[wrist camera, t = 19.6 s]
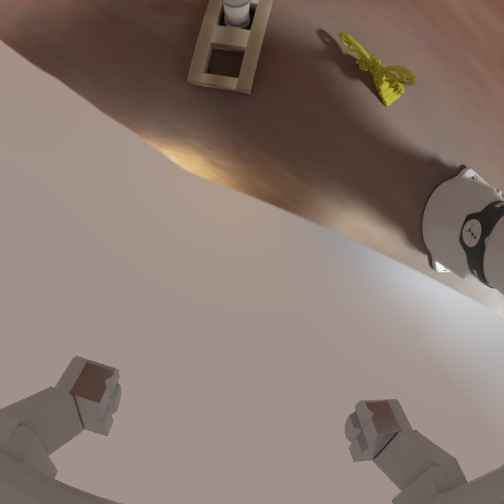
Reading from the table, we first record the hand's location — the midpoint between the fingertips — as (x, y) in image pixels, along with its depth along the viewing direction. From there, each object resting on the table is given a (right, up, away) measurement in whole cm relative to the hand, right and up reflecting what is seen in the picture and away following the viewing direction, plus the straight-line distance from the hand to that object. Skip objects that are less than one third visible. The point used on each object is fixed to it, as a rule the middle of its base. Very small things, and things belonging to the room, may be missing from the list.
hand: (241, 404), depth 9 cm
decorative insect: (+16, +31, +25) cm, 43 cm away
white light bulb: (-2, +36, +23) cm, 42 cm away
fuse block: (-2, +33, +24) cm, 40 cm away
